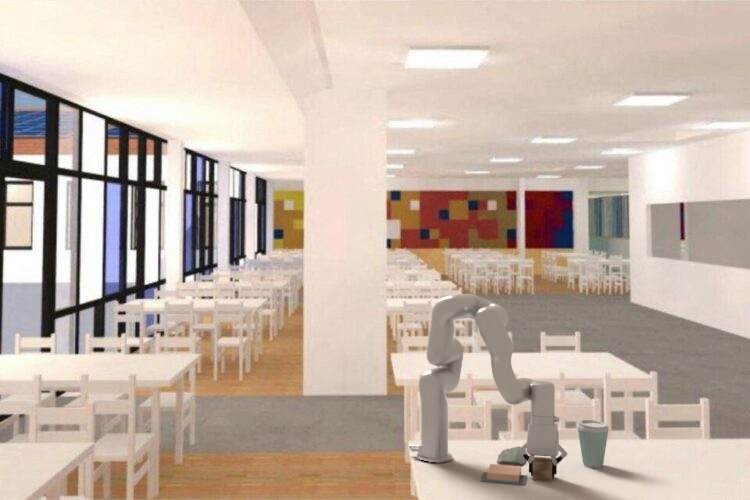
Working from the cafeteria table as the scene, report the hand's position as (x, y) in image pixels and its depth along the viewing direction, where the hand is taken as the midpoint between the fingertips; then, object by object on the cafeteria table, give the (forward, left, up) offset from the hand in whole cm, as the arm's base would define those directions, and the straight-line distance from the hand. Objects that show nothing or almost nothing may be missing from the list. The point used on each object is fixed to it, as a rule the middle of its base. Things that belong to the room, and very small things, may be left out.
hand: (542, 475), depth 237 cm
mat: (-12, -4, -1) cm, 13 cm away
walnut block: (0, 0, -1) cm, 1 cm away
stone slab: (-12, +23, -2) cm, 26 cm away
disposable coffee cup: (+16, +19, -1) cm, 25 cm away
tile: (-12, +2, +1) cm, 12 cm away
